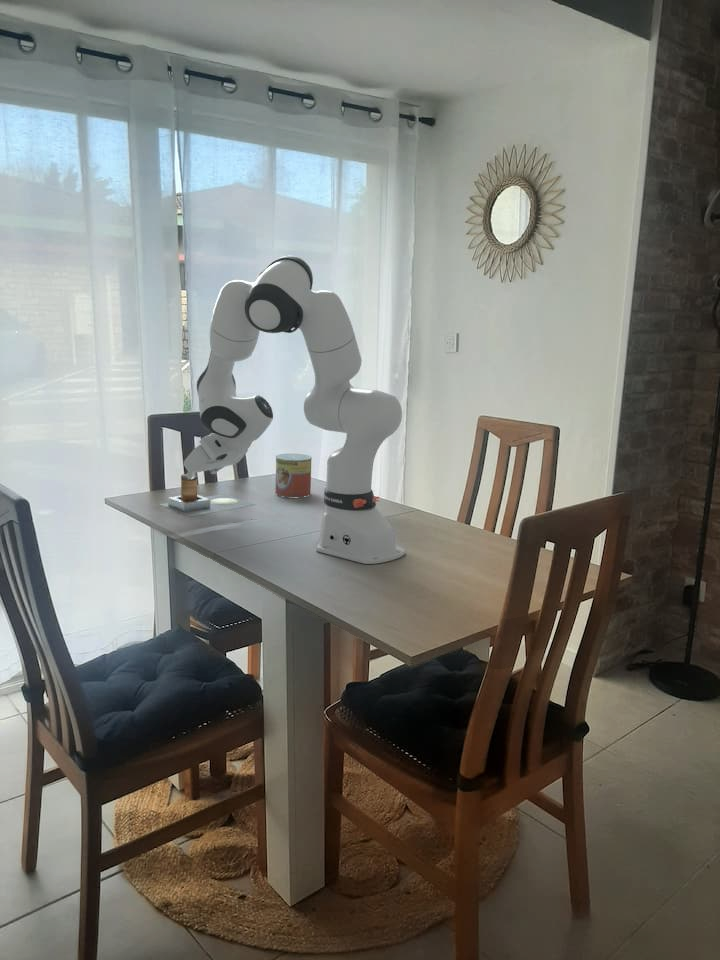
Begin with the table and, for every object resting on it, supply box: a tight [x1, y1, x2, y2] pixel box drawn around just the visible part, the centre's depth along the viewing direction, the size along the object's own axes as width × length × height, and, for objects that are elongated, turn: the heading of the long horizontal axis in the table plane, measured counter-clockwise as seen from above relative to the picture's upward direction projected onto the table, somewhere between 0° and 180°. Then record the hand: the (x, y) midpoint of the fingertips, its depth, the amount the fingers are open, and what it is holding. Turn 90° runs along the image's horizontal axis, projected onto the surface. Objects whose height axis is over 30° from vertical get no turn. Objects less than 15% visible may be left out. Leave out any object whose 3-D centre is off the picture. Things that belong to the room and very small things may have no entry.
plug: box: [180, 473, 198, 502], centre depth 204 cm, size 4×4×9 cm
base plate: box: [159, 493, 256, 518], centre depth 208 cm, size 16×22×1 cm
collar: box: [167, 494, 210, 512], centre depth 204 cm, size 8×8×2 cm
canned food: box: [274, 453, 313, 498], centre depth 229 cm, size 11×11×12 cm
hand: (200, 474), depth 198 cm, fingers open, 8 cm apart
